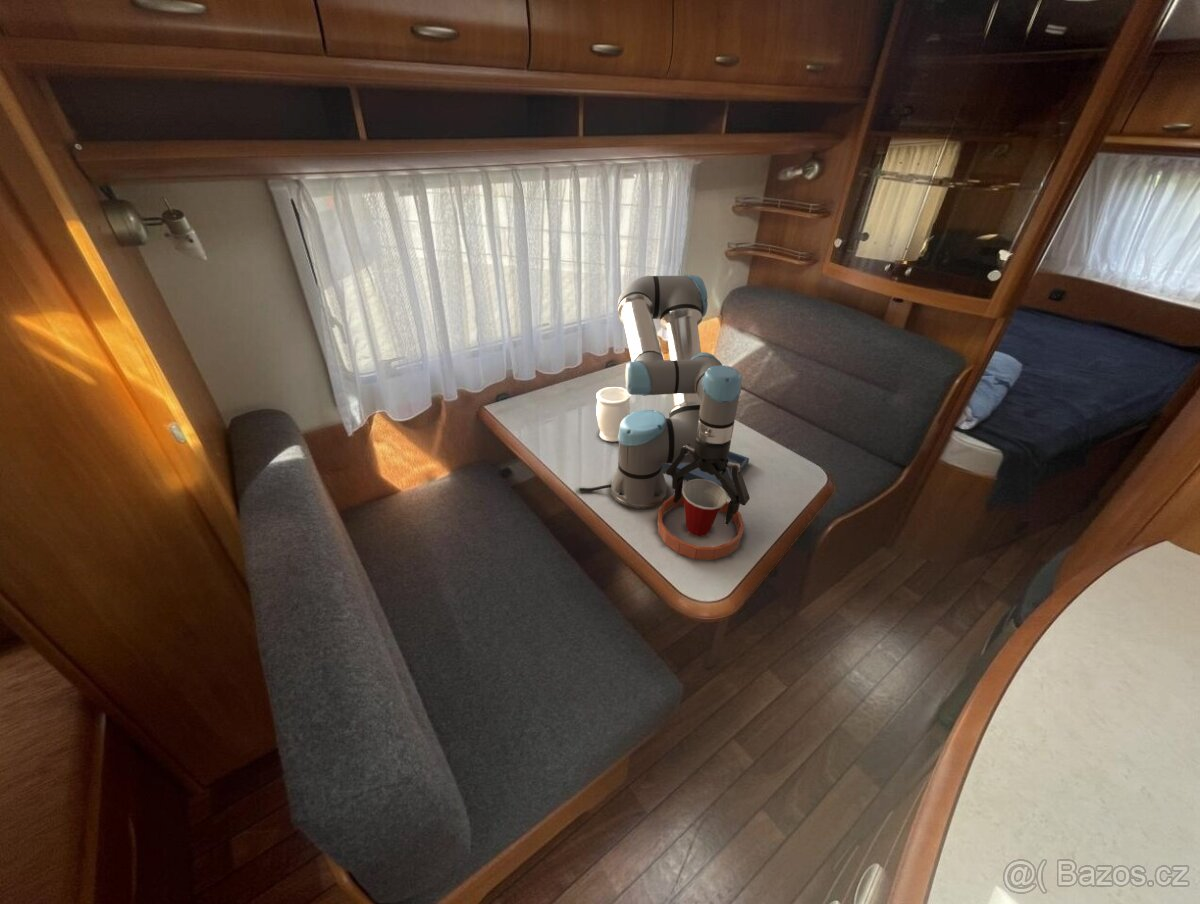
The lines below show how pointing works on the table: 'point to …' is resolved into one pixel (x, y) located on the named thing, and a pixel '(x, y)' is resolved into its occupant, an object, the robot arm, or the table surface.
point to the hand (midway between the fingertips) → (702, 510)
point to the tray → (704, 475)
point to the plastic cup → (702, 504)
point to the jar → (611, 411)
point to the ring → (693, 550)
